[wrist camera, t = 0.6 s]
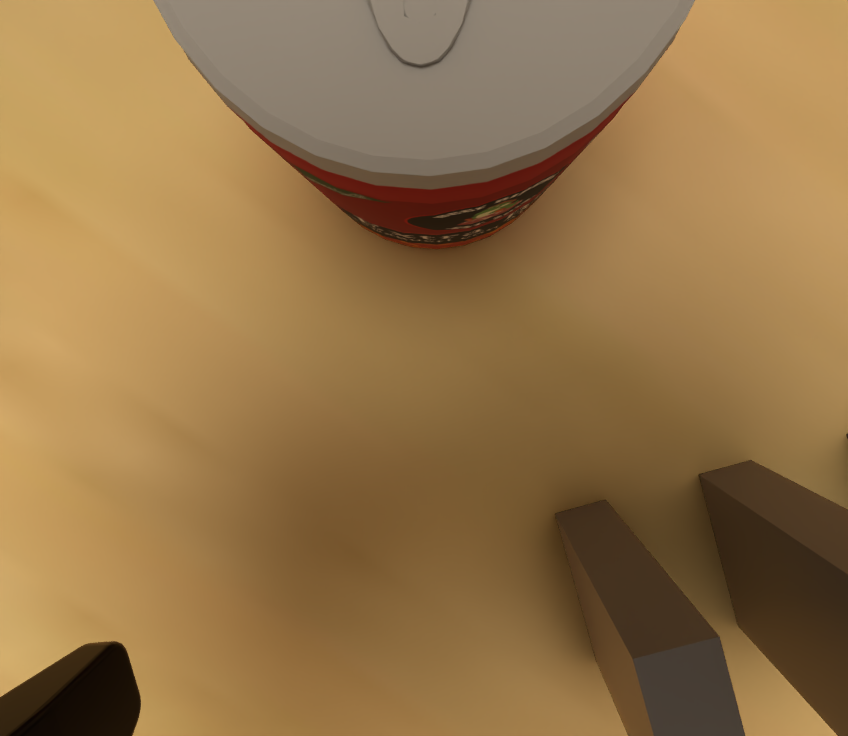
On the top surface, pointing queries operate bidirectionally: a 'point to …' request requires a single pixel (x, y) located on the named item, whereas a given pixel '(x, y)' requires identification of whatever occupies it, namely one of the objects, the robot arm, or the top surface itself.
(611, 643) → the domino
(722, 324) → the top surface
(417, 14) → the canned food
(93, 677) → the robot arm
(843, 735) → the domino
